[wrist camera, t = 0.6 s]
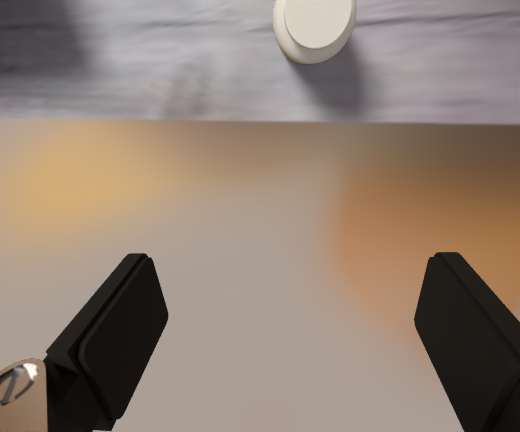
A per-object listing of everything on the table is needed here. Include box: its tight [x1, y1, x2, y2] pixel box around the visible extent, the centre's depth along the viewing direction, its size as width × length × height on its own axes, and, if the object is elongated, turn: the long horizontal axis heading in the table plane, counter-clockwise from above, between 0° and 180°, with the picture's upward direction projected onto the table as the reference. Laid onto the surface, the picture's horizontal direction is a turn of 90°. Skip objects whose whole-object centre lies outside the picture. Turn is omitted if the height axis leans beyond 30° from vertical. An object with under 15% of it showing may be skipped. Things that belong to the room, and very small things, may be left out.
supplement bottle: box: [273, 0, 356, 64], centre depth 26 cm, size 7×7×13 cm
